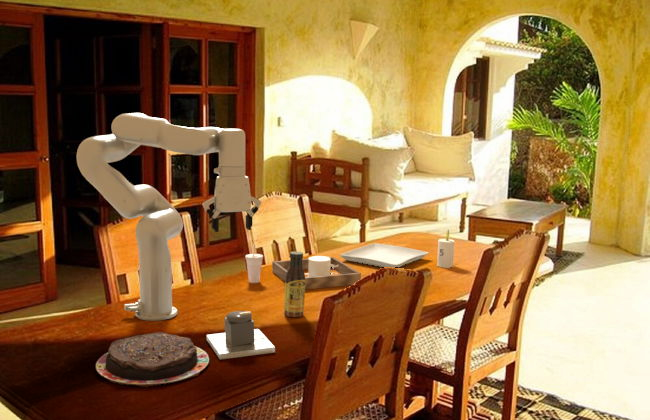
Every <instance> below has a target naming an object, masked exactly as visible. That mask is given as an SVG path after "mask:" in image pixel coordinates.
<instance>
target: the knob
mask: <svg viewBox="0 0 650 420" xmlns="http://www.w3.org/2000/svg"><path fill="white" fill-rule="evenodd" d="M252 316H253V315H252V313H251V311H249V310H248V311H243V310H239V311H238V310H237V311H232V312H228V313H227V314H226V315H225V317H224V333H225V338H226V340H227V341H228V342H229V344H230V345H231V346H236V345H243V344H249V343H255V339H254V329H255V322H254V320H253V319H252V318H253V317H252Z"/></svg>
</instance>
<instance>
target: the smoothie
mask: <svg viewBox="0 0 650 420" xmlns="http://www.w3.org/2000/svg"><path fill="white" fill-rule="evenodd" d="M244 258H245V260H246V268H247V269H246V270H247V277H248V283H250V284H259V283H260V278H261V271H262V263H263V259H264V255H263V254H260V253H255V244H254V243H253V244H252V253H249V254H245V257H244Z"/></svg>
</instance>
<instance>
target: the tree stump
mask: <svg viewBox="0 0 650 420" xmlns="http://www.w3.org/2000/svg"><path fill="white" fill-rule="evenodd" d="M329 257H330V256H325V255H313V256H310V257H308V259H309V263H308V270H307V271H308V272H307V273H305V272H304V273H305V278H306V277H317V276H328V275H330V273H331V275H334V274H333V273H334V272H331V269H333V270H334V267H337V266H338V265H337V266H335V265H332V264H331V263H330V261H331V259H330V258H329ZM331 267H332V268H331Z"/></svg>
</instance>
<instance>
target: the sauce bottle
mask: <svg viewBox="0 0 650 420" xmlns="http://www.w3.org/2000/svg"><path fill="white" fill-rule="evenodd" d="M289 258H290V268H289V269H288V271H287V274H286V282H285V281H284V299H283V300H284V303H283V311H284V312H283V313H284V314H283V315H284V316H286V317H288V318H300V317H303V315H304V311H305V301H306V300H305V296H306V295H305V293H306V289H305V277H306V275H305V270H303V268H302V259H304V252H302V251H291V252H290V253H289Z"/></svg>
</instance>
